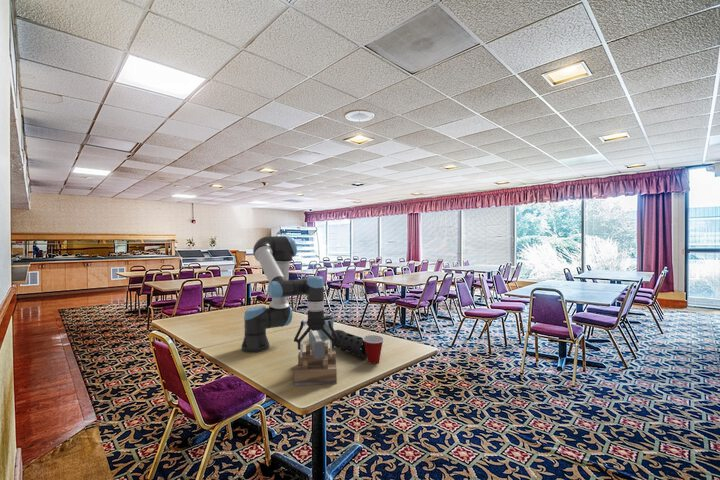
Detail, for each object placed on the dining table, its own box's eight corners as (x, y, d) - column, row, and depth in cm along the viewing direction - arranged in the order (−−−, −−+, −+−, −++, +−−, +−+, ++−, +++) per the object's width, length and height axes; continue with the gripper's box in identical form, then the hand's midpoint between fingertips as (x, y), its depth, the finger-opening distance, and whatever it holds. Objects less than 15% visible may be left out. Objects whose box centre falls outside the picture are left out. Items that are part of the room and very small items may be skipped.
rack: (336, 383, 148) (336, 359, 148) (294, 385, 147) (293, 361, 147) (335, 362, 174) (335, 342, 174) (299, 363, 172) (299, 343, 172)
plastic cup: (368, 367, 167) (368, 342, 167) (359, 360, 177) (359, 336, 177) (388, 363, 171) (388, 339, 171) (378, 357, 181) (378, 333, 181)
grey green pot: (320, 334, 225) (320, 316, 225) (335, 335, 224) (335, 316, 224) (316, 339, 215) (316, 320, 215) (332, 339, 214) (332, 320, 214)
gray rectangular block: (314, 359, 149) (314, 342, 149) (309, 344, 170) (308, 329, 170) (324, 358, 150) (324, 341, 150) (318, 344, 171) (318, 329, 171)
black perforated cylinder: (359, 361, 175) (359, 341, 175) (328, 348, 197) (327, 330, 197) (373, 357, 181) (373, 337, 181) (341, 345, 203) (341, 327, 203)
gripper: (287, 312, 155) (288, 359, 155) (343, 310, 158) (343, 357, 158) (289, 309, 163) (289, 354, 163) (342, 307, 165) (343, 352, 165)
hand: (316, 356), depth 160 cm, fingers open, 13 cm apart
